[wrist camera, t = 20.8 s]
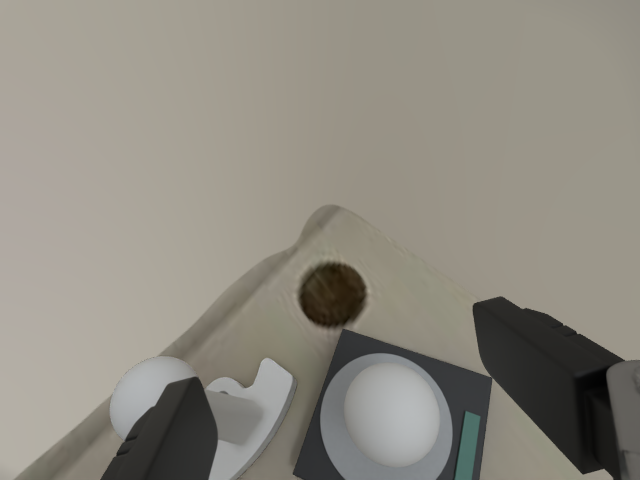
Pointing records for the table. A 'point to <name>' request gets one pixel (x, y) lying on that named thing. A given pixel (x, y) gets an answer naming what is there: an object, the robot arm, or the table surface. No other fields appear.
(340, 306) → the table surface
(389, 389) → the lightbulb
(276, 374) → the joystick
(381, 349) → the scale
